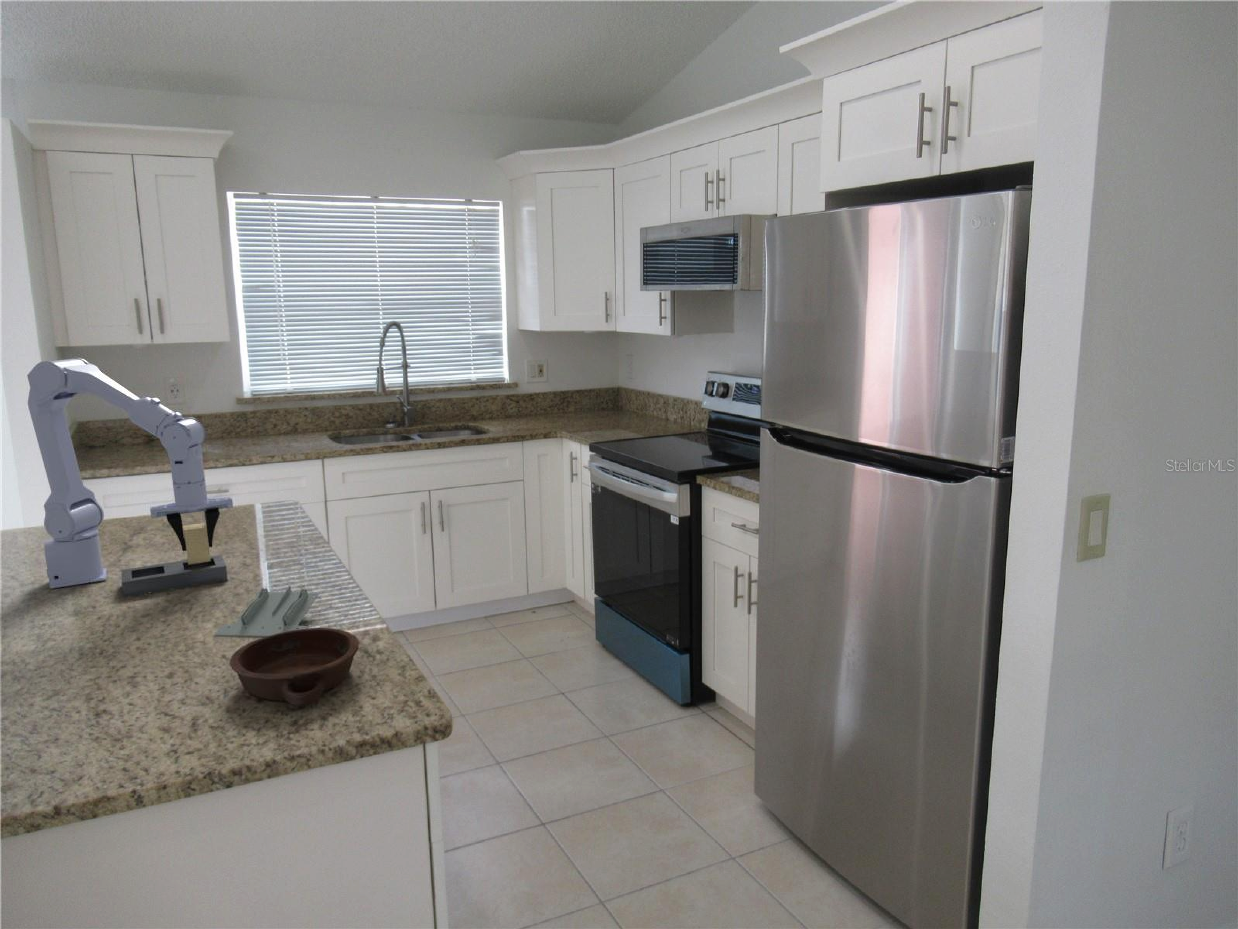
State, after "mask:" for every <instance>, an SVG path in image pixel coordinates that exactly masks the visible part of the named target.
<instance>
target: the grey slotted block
mask: <svg viewBox="0 0 1238 929" xmlns="http://www.w3.org/2000/svg"><path fill="white" fill-rule="evenodd" d="M210 560H211V561H209V562H203V563H196V564H190V565H188V561H187V559H186V560H183V559H182V560H179V561H173V562H164V563H158V564H151V565H146V566H140V567H139V566H137V567H133V568H132V567H131V568H124V569H121V588H122V594H123V598H124V597H125V598H129V597H128V596H131V597H136V595H137V596H141V595H140V594H143V595H145V594H144V593H149V592H150V593H149V594H152V593H151V592H155V593H161V592H166V590H167V591H172V590H171V589H173V590H177V589H184V587H185V588H190V587H196V586H195V585H197V586H202V585H207V584H208V583H210V584H214V583H213V582H216V583H221V582H227V581H228V572H227V565H226V563H225V560H224V558H223V555H222V554H217V555H212V556H211V555H210Z"/></svg>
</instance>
